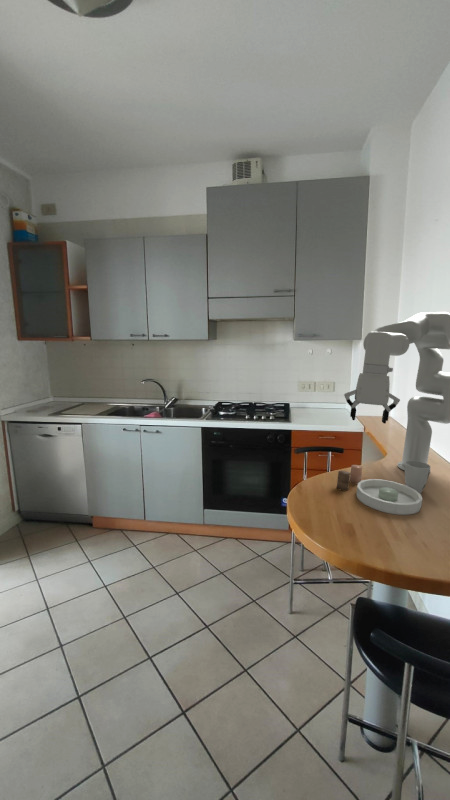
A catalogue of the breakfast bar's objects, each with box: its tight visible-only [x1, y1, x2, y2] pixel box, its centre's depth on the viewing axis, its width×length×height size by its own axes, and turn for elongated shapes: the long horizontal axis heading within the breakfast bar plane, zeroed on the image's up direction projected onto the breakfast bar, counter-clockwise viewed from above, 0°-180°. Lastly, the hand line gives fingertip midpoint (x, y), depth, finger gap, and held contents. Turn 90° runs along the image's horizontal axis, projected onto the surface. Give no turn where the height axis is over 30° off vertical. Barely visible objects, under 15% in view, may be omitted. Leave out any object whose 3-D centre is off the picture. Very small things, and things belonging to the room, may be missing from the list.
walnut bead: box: [336, 470, 351, 491], centre depth 130 cm, size 4×4×6 cm
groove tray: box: [355, 478, 423, 516], centre depth 122 cm, size 20×20×4 cm
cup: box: [404, 461, 431, 494], centre depth 131 cm, size 8×8×10 cm
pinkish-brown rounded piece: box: [349, 464, 363, 485], centre depth 137 cm, size 4×4×6 cm
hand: (368, 421), depth 120 cm, fingers open, 9 cm apart
